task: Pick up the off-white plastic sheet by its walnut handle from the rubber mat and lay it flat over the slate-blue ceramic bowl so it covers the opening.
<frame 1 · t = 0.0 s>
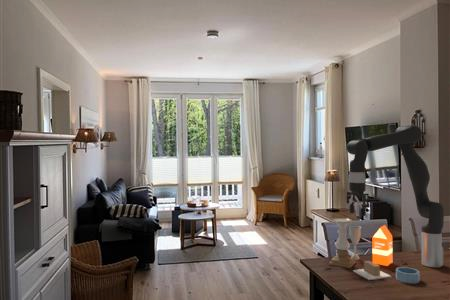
hand: (357, 214, 178), 29 cm above the table, tool pointing down, fingers open, 8 cm apart
chalice: (355, 259, 202), on the table
bowl: (407, 281, 169), on the table
sheet: (371, 274, 176), point 1 cm above the table, touching mat
orange juice: (382, 264, 194), on the table
candle holder: (342, 265, 193), on the table
mat: (371, 275, 176), on the table
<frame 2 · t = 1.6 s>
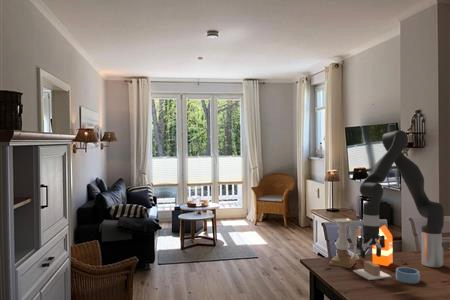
hand: (370, 257, 177), 9 cm above the table, tool pointing down, fingers open, 8 cm apart
nothing on the table moved.
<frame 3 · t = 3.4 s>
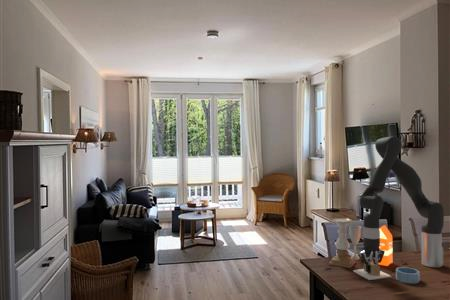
hand: (371, 271, 176), 2 cm above the table, tool pointing down, fingers closed on sheet, 3 cm apart
sheet: (371, 274, 176), point 1 cm above the table, touching gripper, mat
everything else where it was.
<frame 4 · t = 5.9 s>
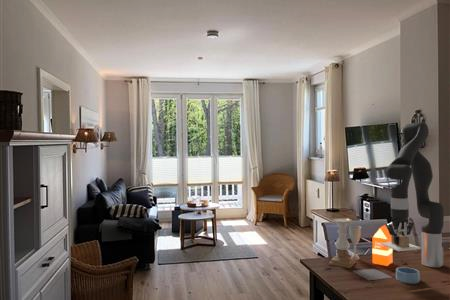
hand: (400, 244, 171), 17 cm above the table, tool pointing down, fingers closed on sheet, 3 cm apart
sheet: (400, 246, 171), point 16 cm above the table, touching gripper
everything else where it was.
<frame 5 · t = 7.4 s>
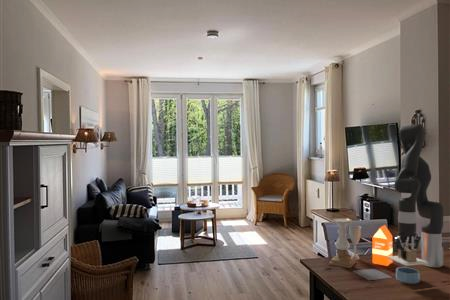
hand: (407, 258, 169), 11 cm above the table, tool pointing down, fingers closed on sheet, 3 cm apart
sheet: (407, 260, 169), point 10 cm above the table, touching gripper
everything else where it was.
when the fingers open (7 cm above the table, at t = 8.7 s): sheet stays where it is, resting on bowl.
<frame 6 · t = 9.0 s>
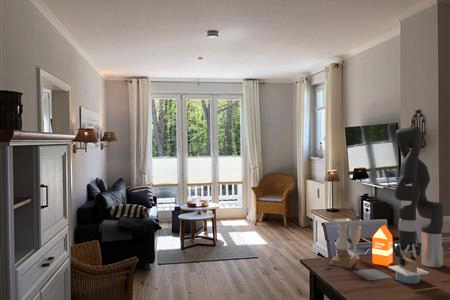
hand: (407, 265, 169), 7 cm above the table, tool pointing down, fingers open, 5 cm apart
sheet: (407, 270, 169), point 5 cm above the table, touching bowl
everything else where it was.
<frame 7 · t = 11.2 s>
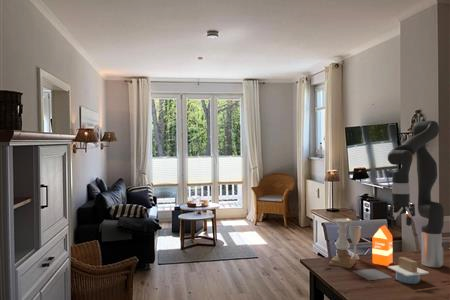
hand: (401, 226, 173), 24 cm above the table, tool pointing down, fingers open, 8 cm apart
nothing on the table moved.
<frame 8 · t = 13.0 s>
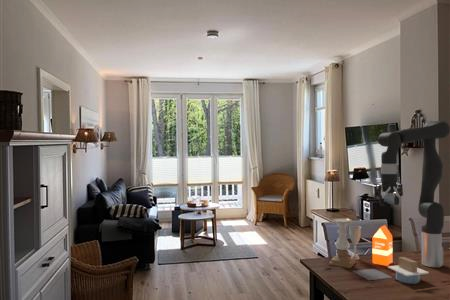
hand: (389, 205, 181), 33 cm above the table, tool pointing down, fingers open, 8 cm apart
nothing on the table moved.
at the end: sheet 0.1 cm off-centre on the bowl, point 5.0 cm above the bowl's base; sheet tilted 0°; the gripper is holding nothing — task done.
